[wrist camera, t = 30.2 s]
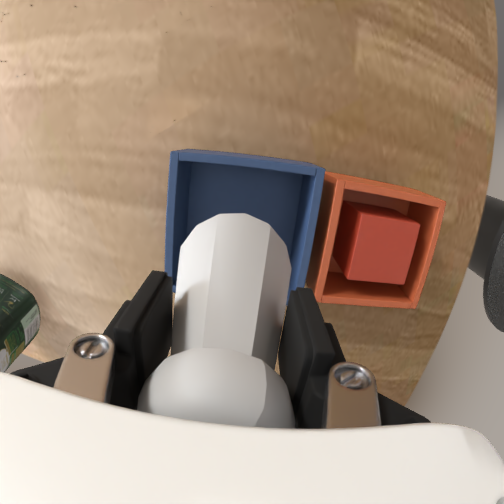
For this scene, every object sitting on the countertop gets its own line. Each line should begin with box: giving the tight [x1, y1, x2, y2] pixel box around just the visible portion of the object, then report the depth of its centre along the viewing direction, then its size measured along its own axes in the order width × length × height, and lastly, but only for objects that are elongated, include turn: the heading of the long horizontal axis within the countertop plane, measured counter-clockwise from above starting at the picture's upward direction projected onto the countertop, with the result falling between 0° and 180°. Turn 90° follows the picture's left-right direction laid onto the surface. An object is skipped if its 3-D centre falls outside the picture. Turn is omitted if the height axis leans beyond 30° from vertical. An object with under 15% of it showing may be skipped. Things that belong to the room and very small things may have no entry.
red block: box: [332, 200, 420, 285], centre depth 24 cm, size 5×5×5 cm
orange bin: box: [306, 171, 446, 309], centre depth 24 cm, size 9×9×6 cm
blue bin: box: [165, 149, 325, 305], centre depth 24 cm, size 10×10×6 cm
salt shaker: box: [137, 213, 296, 429], centre depth 12 cm, size 6×6×13 cm
